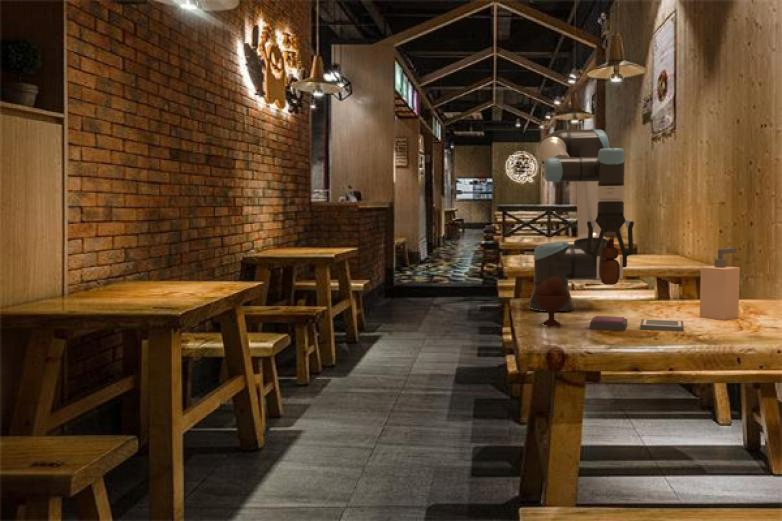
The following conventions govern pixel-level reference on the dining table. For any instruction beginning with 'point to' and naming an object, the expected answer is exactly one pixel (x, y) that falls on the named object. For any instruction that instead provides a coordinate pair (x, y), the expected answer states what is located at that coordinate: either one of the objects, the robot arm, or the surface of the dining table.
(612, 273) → the wooden figurine
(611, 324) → the ink pad
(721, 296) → the soap dispenser
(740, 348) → the dining table surface
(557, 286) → the ice cream bowl
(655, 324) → the marked board
